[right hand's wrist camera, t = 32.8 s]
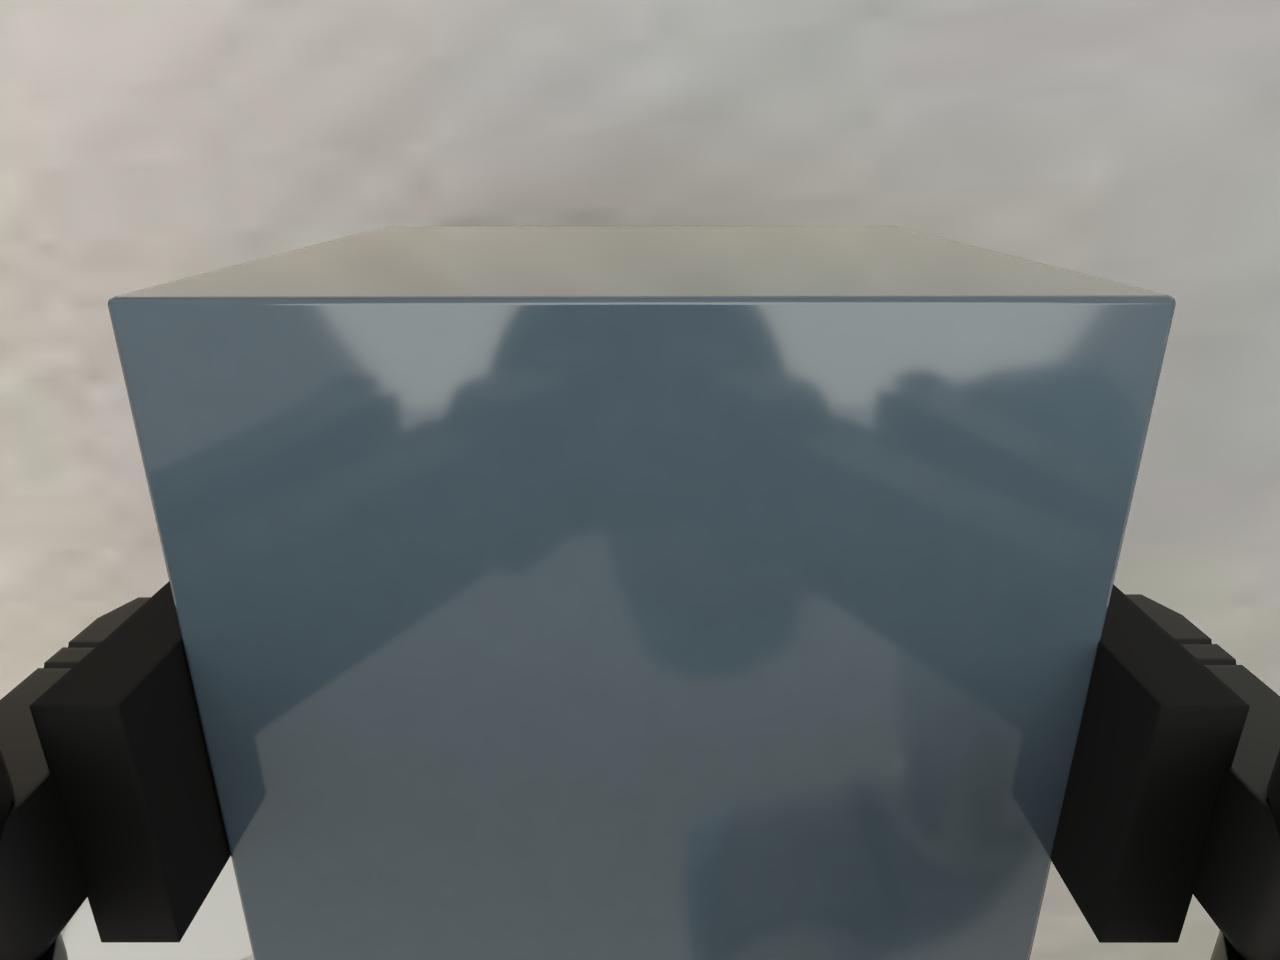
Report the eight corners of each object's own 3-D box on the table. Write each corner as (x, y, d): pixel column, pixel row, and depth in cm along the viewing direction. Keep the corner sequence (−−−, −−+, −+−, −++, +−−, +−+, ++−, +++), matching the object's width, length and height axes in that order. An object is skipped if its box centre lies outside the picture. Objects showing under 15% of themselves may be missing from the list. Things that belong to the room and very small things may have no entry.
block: (850, 672, 18) (1010, 1056, 10) (430, 672, 18) (273, 1059, 10) (896, 225, 15) (1181, 296, 7) (383, 226, 14) (102, 297, 7)
